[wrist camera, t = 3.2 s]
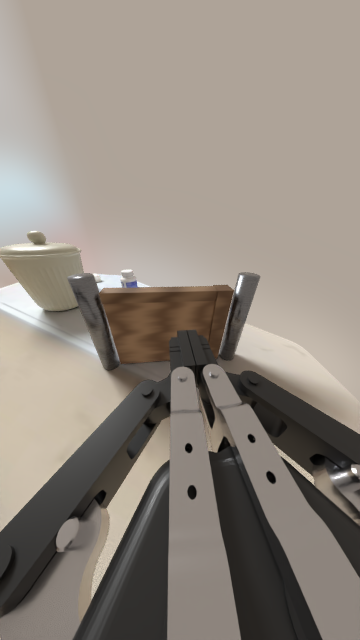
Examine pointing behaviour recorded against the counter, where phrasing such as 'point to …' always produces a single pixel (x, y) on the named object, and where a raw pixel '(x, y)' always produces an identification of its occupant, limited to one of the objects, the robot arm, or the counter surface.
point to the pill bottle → (128, 279)
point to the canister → (44, 270)
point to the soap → (97, 277)
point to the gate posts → (101, 332)
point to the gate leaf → (163, 318)
